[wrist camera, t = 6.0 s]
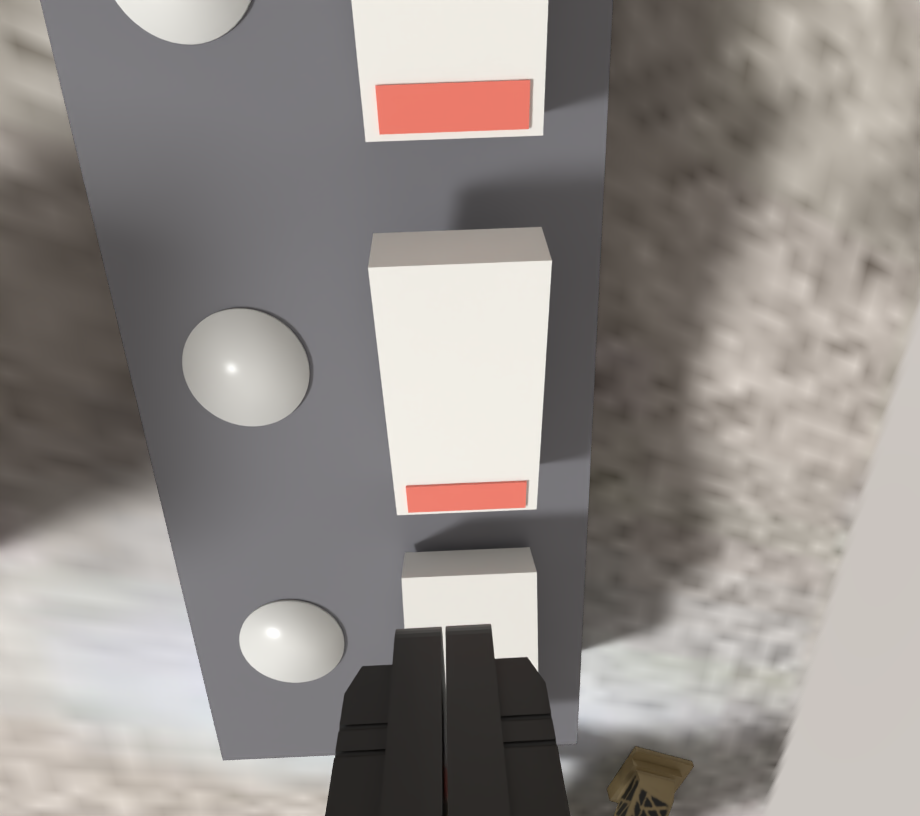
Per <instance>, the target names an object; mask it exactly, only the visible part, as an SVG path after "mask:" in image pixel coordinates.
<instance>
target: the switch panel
mask: <svg viewBox="0 0 920 816" xmlns="http://www.w3.org/2000/svg"><path fill="white" fill-rule="evenodd" d="M40 2H41V6H42V10H43V14H44V18H45V23H46V27H47V31H48V35H49V39H50V43H51V48H52V52H53V56H54V60H55V64H56V68H57V72H58V77H59V81H60V85H61V89H62V93H63V97H64V102H65V106H66V110H67V114H68V118H69V122H70V127H71V131H72V135H73V139H74V143H75V147H76V151H77V156H78V160H79V164H80V168H81V172H82V176H83V181H84V185H85V189H86V193H87V197H88V201H89V206H90V210H91V214H92V218H93V222H94V226H95V230H96V235H97V239H98V243H99V247H100V251H101V255H102V260H103V264H104V268H105V272H106V276H107V280H108V285H109V289H110V293H111V297H112V301H113V305H114V309H115V314H116V318H117V322H118V326H119V330H120V334H121V339H122V343H123V347H124V351H125V355H126V359H127V364H128V368H129V372H130V376H131V380H132V384H133V388H134V393H135V397H136V401H137V405H138V409H139V413H140V418H141V422H142V426H143V430H144V434H145V438H146V443H147V447H148V451H149V455H150V459H151V463H152V467H153V472H154V476H155V480H156V484H157V488H158V492H159V497H160V501H161V505H162V509H163V513H164V517H165V522H166V526H167V530H168V534H169V538H170V542H171V546H172V551H173V555H174V559H175V563H176V567H177V571H178V576H179V580H180V584H181V588H182V592H183V596H184V601H185V605H186V609H187V613H188V617H189V621H190V625H191V630H192V634H193V638H194V642H195V646H196V650H197V655H198V659H199V663H200V667H201V671H202V675H203V680H204V684H205V688H206V692H207V696H208V700H209V704H210V709H211V713H212V717H213V721H214V725H215V729H216V734H217V738H218V742H219V746H220V750H221V754H222V758H223V760H241V759H262V758H284V757H305V756H327V755H335V750H336V743H337V737H338V732H339V724H340V718H341V711H342V705H343V699H344V693H345V692H346V690H347V689H348V687H349V686H350V684H351V683H352V681H353V679H354V678H355V676H356V675H357V673H358V672H359V670H360V669H361V667H362V666H373V665H392V662H393V650H394V637H395V631H396V629H404V612H403V596H402V580H401V578H402V570H403V563H404V555H405V553H407V552H430V551H453V550H476V549H499V548H522V547H530V550H531V554H532V557H533V561H534V564H535V568H536V571H537V621H538V673H539V674H540V675H541V677H542V678H543V679H544V681H545V682H546V687H547V692H548V698H549V703H550V709H551V717H552V720H553V725H554V731H555V736H556V745H562V744H577V731H578V711H579V690H580V670H581V649H582V628H583V608H584V587H585V567H586V546H587V526H588V505H589V484H590V464H591V443H592V423H593V402H594V382H595V361H596V340H597V320H598V299H599V279H600V258H601V238H602V217H603V197H604V176H605V155H606V135H607V114H608V94H609V73H610V53H611V32H612V11H613V0H548V22H547V48H546V73H545V99H544V124H543V136H516V137H488V138H461V139H434V140H407V141H379V142H366V141H365V131H364V121H363V111H362V101H361V92H360V82H359V72H358V62H357V52H356V42H355V32H354V22H353V12H352V2H351V0H40ZM525 227H542V230H543V233H544V236H545V240H546V243H547V246H548V249H549V253H550V256H551V259H552V268H551V284H550V300H549V316H548V333H547V349H546V365H545V381H544V397H543V414H542V430H541V446H540V462H539V478H538V495H537V509H533V510H509V511H486V512H463V513H439V514H416V515H397V510H396V502H395V493H394V485H393V476H392V468H391V459H390V451H389V442H388V434H387V425H386V417H385V408H384V400H383V391H382V383H381V374H380V366H379V357H378V349H377V340H376V332H375V323H374V315H373V306H372V298H371V289H370V281H369V272H368V264H369V257H370V251H371V244H372V238H373V233H394V232H420V231H446V230H473V229H499V228H525Z"/></svg>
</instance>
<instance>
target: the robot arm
mask: <svg viewBox="0 0 920 816" xmlns="http://www.w3.org/2000/svg"><path fill="white" fill-rule="evenodd" d="M445 637H446V678H445V664H444V649H443V635H442V627H424V628H406V629H396V631H395V637H394V650H393V662H392V665H373V666H362V667H361V669H360V670H359V672H358V673H357V675H356V676H355V678H354V679H353V681H352V683H351V684H350V686H349V687H348V689H347V690H346V692H345V693H344V699H343V705H342V711H341V718H340V724H339V732H338V737H337V743H336V750H335V758H334V763H333V769H332V775H331V782H330V788H329V795H328V801H327V808H326V814H325V816H570V812H569V807H568V802H567V796H566V791H565V785H564V780H563V774H562V769H561V763H560V758H559V752H558V747H557V745H556V736H555V731H554V725H553V720H552V717H551V709H550V703H549V698H548V692H547V687H546V682H545V681H544V679H543V678H542V677H541V675H540V674H539V673H538V671H537V670H536V668H535V667H534V666H533V664H532V663H531V661H530V660H529V659H528V657H516V658H498V659H495V656H494V647H493V637H492V627H491V624H476V625H457V626H446V628H445Z"/></svg>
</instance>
